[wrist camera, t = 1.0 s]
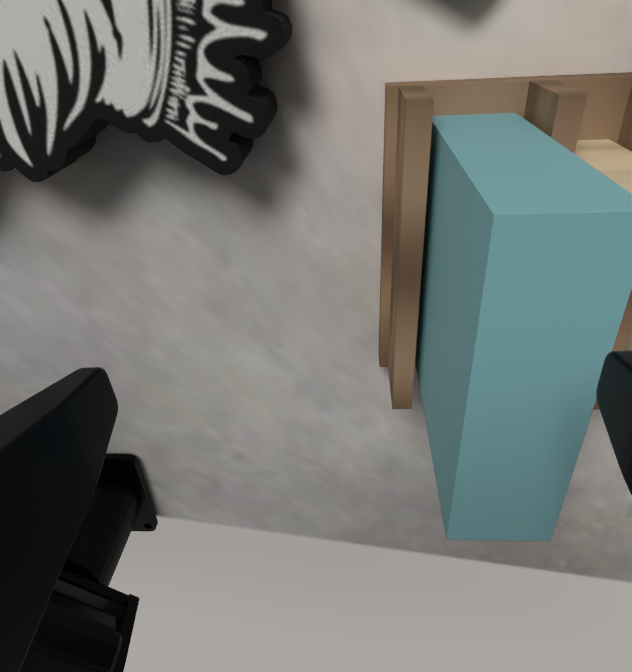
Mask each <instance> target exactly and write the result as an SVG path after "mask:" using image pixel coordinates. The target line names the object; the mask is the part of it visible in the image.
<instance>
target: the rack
mask: <svg viewBox="0 0 632 672" xmlns="http://www.w3.org/2000/svg"><path fill="white" fill-rule="evenodd" d="M498 113H517V114H518V115H520V116H521V117H522V118H524V119H525V120H527V121H528V122H530V123H531V124H532V125H534V126H535V127H537V128H538V129H540V130H541V131H542V132H544V133H545V134H547V135H548V136H550V137H551V138H552V139H554V140H555V141H557V142H558V143H560V144H561V145H562V146H564V147H565V148H567V149H568V150H570V151H571V152H572V153H574V154H575V150H576V146H577V141H578V140H604V139H609V140H611V141H613V142H615V143H617V144H619V145H620V146H622V147H624V148H626V149H628V150H630V151H631V152H632V72H631V73H607V74H583V75H559V76H536V77H512V78H488V79H464V80H441V81H417V82H393V83H385V121H384V161H383V201H382V241H381V281H380V321H379V365H380V367H388V370H389V380H390V390H391V399H392V409H412V396H413V382H414V368H415V366H416V363H415V355H416V341H417V327H418V313H419V299H420V285H421V271H422V257H423V244H424V230H425V216H426V202H427V188H428V174H429V160H430V146H431V132H432V119H433V116H444V115H471V114H498ZM631 326H632V289H631V293H630V296H629V299H628V302H627V305H626V308H625V311H624V314H623V317H622V321H621V324H620V327H619V330H618V333H617V336H616V339H615V342H614V345H613V348H612V351H623V350H624V347H625V344H626V341H627V338H628V335H629V332H630V329H631ZM593 409H599V406H598V402H597V398H596V401H595V404H594V408H593Z"/></svg>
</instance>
